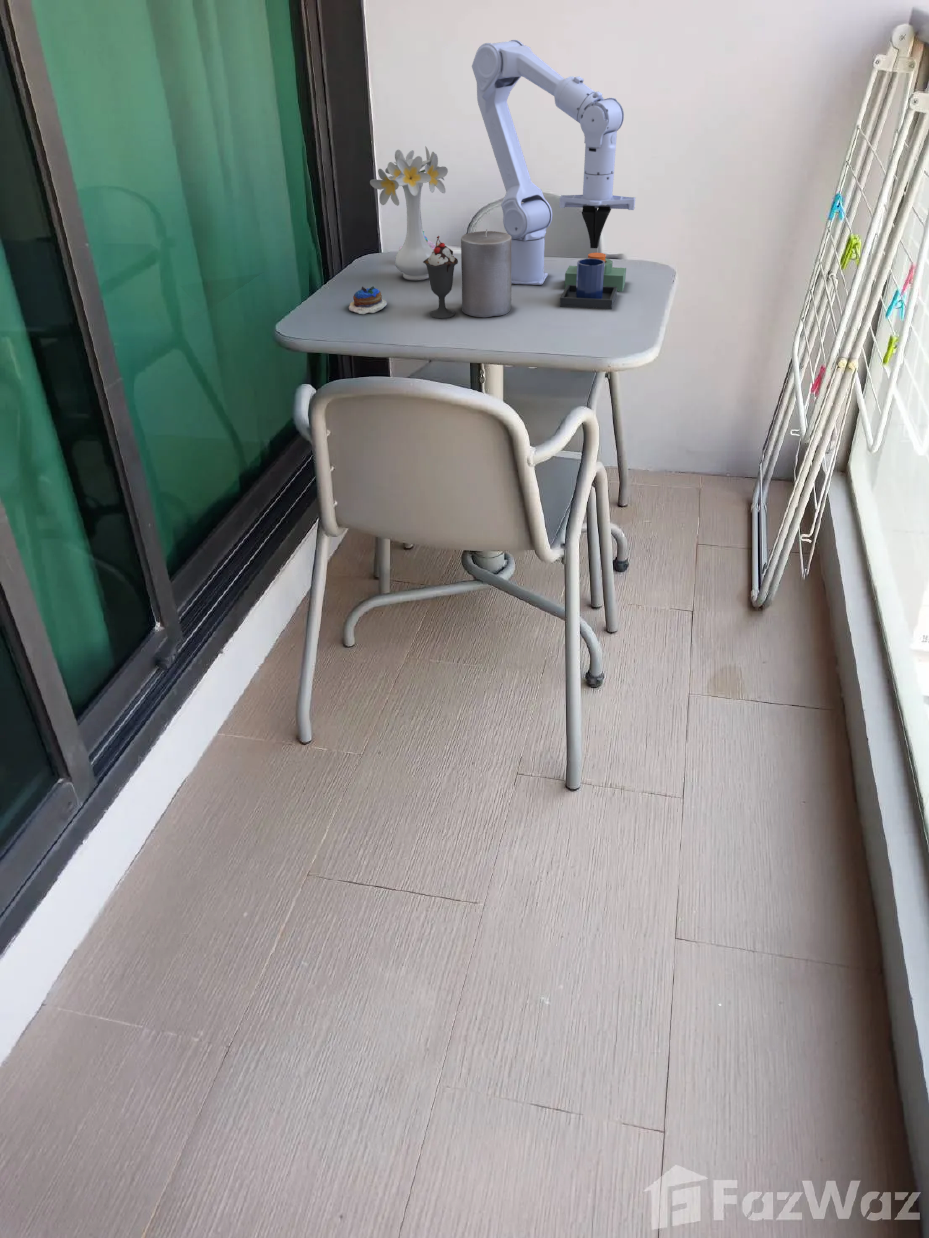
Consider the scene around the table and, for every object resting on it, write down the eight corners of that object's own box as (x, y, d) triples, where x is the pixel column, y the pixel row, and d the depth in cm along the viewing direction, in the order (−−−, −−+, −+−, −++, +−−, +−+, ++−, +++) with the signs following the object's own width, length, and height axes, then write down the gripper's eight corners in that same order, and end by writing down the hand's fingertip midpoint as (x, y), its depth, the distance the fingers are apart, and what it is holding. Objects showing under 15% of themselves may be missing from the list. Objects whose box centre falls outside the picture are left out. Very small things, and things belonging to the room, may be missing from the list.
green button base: (564, 289, 188) (565, 264, 185) (568, 280, 193) (569, 256, 190) (622, 292, 185) (624, 267, 182) (625, 283, 190) (627, 258, 187)
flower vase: (371, 286, 193) (360, 157, 178) (410, 264, 206) (403, 142, 192) (425, 292, 188) (418, 160, 174) (461, 269, 202) (458, 145, 187)
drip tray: (559, 307, 178) (560, 297, 177) (566, 293, 186) (567, 284, 184) (611, 309, 176) (612, 300, 175) (616, 295, 183) (617, 286, 182)
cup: (574, 301, 179) (575, 265, 175) (577, 293, 183) (579, 258, 179) (600, 303, 178) (603, 266, 174) (603, 295, 182) (606, 259, 178)
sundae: (434, 322, 173) (431, 239, 164) (419, 312, 177) (415, 232, 169) (465, 316, 175) (463, 234, 166) (449, 307, 180) (447, 227, 171)
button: (586, 265, 185) (587, 256, 184) (588, 261, 188) (589, 252, 187) (604, 266, 185) (604, 257, 184) (606, 261, 187) (606, 253, 186)
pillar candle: (475, 300, 183) (473, 222, 174) (519, 306, 179) (520, 226, 171) (453, 314, 176) (451, 233, 167) (499, 320, 172) (499, 237, 164)
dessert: (370, 295, 185) (377, 274, 180) (388, 319, 184) (396, 299, 179) (339, 307, 181) (345, 286, 176) (358, 331, 180) (365, 311, 175)
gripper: (557, 175, 170) (555, 250, 178) (635, 177, 167) (628, 253, 175) (563, 168, 176) (560, 241, 184) (638, 170, 173) (632, 244, 181)
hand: (594, 247), depth 180 cm, fingers closed
